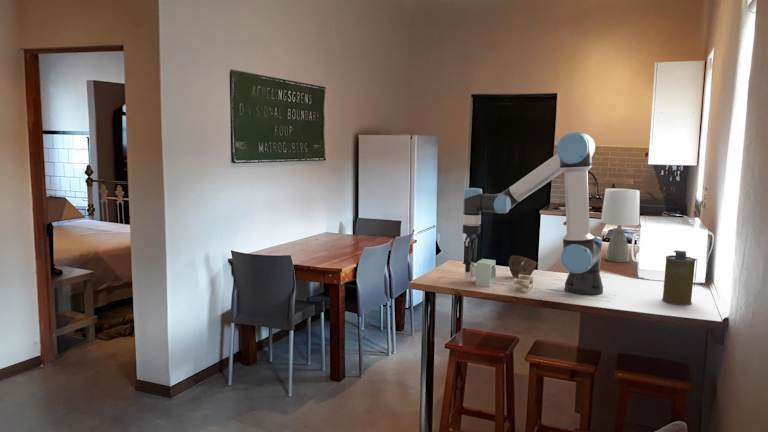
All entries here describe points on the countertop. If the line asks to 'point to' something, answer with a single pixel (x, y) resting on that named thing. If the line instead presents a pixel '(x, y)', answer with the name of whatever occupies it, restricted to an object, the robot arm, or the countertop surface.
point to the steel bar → (473, 271)
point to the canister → (679, 279)
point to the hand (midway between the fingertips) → (469, 277)
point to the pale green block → (484, 272)
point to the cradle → (523, 283)
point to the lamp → (620, 219)
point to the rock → (521, 266)
